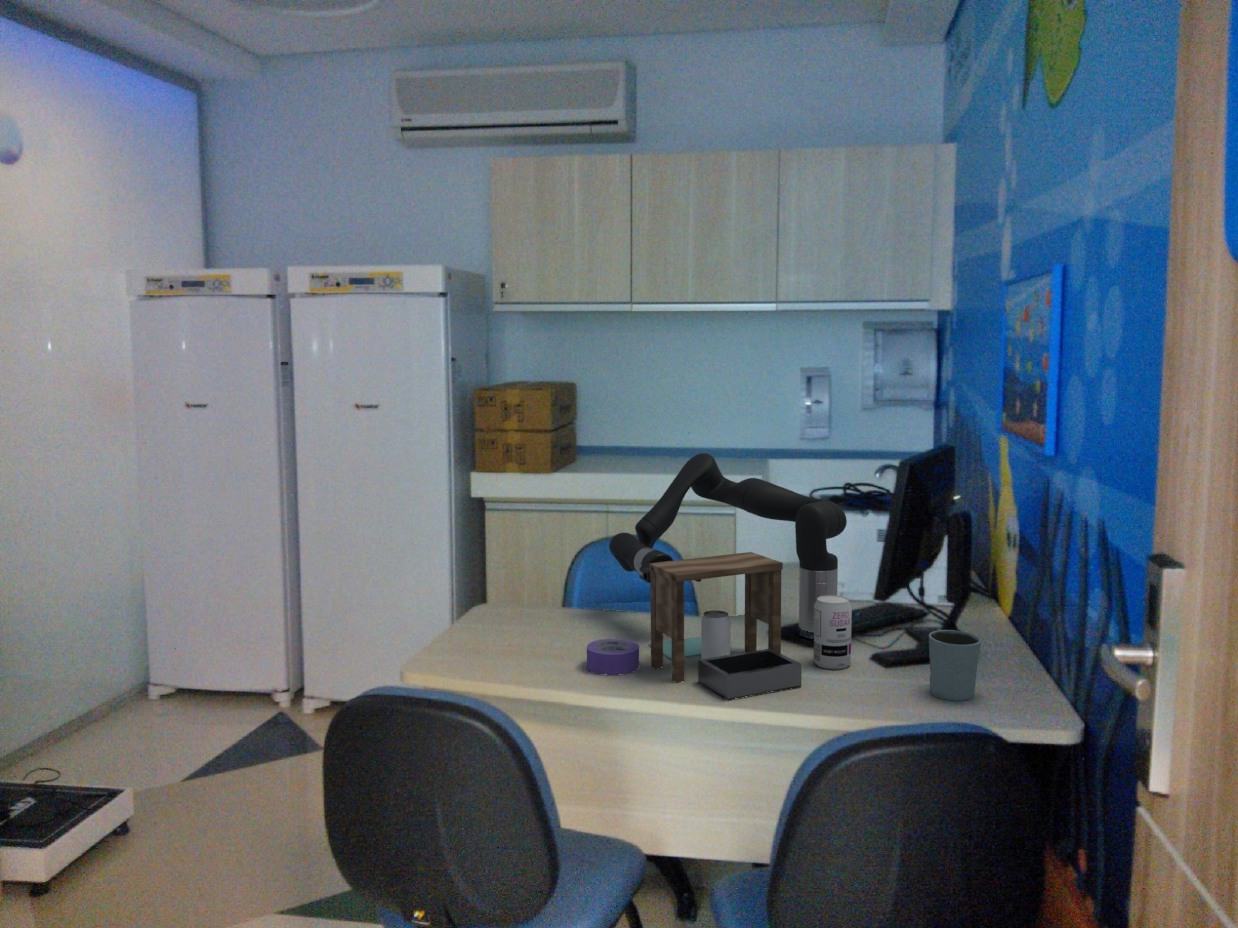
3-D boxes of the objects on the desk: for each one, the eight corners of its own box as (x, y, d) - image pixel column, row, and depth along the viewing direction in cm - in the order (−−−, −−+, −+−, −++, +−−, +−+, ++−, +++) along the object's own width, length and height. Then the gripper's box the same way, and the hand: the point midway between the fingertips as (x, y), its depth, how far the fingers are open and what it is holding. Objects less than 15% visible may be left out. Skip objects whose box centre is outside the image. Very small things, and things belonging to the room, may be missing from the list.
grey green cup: (935, 682, 207) (937, 627, 206) (985, 691, 202) (987, 634, 200) (920, 696, 199) (922, 639, 198) (971, 706, 193) (973, 647, 192)
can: (711, 672, 215) (711, 619, 214) (695, 664, 221) (695, 612, 220) (736, 667, 218) (736, 615, 217) (720, 659, 224) (720, 608, 223)
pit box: (698, 682, 209) (698, 660, 208) (769, 670, 216) (769, 648, 215) (727, 700, 198) (727, 676, 197) (801, 687, 205) (801, 664, 205)
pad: (648, 646, 235) (648, 644, 235) (699, 638, 241) (699, 636, 241) (671, 660, 224) (671, 658, 224) (724, 651, 230) (724, 650, 230)
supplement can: (826, 656, 225) (827, 592, 224) (857, 664, 220) (859, 599, 218) (806, 664, 220) (806, 599, 218) (837, 673, 214) (838, 606, 212)
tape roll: (639, 659, 225) (639, 638, 225) (639, 676, 214) (638, 653, 213) (588, 659, 226) (588, 638, 225) (585, 676, 214) (584, 654, 214)
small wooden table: (650, 665, 220) (649, 563, 217) (750, 649, 231) (751, 552, 228) (677, 683, 208) (676, 575, 206) (781, 665, 219) (782, 562, 216)
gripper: (679, 576, 247) (710, 592, 232) (627, 582, 241) (656, 598, 227) (679, 547, 246) (710, 561, 231) (627, 552, 240) (656, 566, 226)
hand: (683, 579), depth 229 cm, fingers open, 8 cm apart
